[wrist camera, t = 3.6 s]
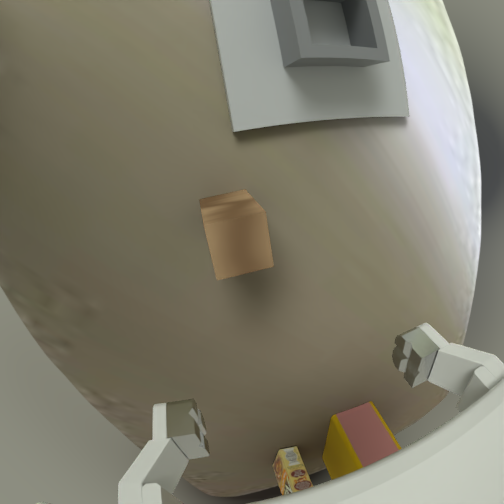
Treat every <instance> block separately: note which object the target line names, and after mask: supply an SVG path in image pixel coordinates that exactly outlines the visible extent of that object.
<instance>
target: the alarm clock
mask: <svg viewBox="0 0 504 504" xmlns="http://www.w3.org/2000/svg"><path fill="white" fill-rule="evenodd" d="M400 449H401V447H400V445H399V444H398V442H397V441H396V439H395V437H394V436H393V434H392V432H391V431H390V429H389V428H388V426H387V425H386V423H385V421H384V420H383V418H382V417H381V415H380V413H379V412H378V410H377V409H376V407H375V406H374V404H373V402H368V403H365V404H363V405H360V406H357V407H355V408H352V409H349V410H346V411H344V412H341V413H338V414H335V415H333V416H332V417H331V420H330V425H329V430H328V434H327V439H326V443H325V448H324V452H323V456H322V458H323V461H324V463H325V465H326V468H327V470H328V472H329V474H330V477H331V479H332V480H333V479H336V478H339V477H341V476H344V475H346V474H349V473H351V472H354V471H356V470H358V469H361V468H363V467H365V466H368V465H370V464H372V463H374V462H376V461H378V460H380V459H383V458H385V457H387V456H389V455H391V454H393V453H395V452H397V451H398V450H400Z"/></svg>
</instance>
